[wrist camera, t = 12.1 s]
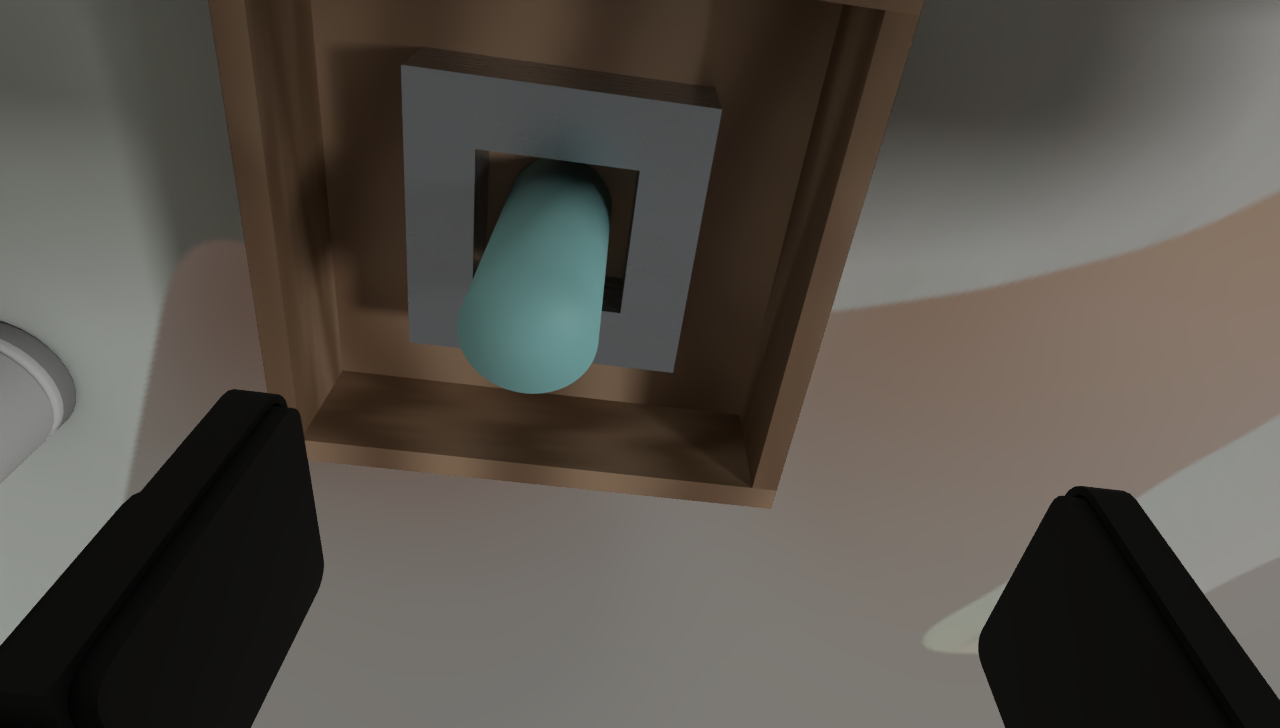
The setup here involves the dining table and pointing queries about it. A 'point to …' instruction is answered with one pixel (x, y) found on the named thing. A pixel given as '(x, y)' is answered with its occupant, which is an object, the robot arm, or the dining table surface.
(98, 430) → the dining table surface
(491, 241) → the peg
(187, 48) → the dining table surface
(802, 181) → the box
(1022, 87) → the dining table surface
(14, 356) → the travel mug
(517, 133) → the bore plate
